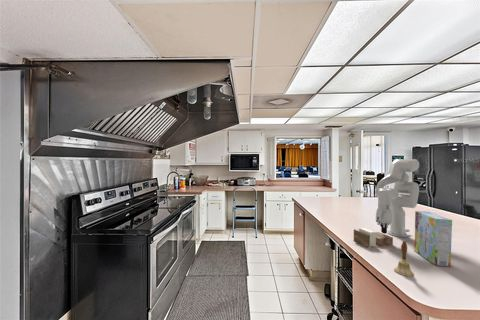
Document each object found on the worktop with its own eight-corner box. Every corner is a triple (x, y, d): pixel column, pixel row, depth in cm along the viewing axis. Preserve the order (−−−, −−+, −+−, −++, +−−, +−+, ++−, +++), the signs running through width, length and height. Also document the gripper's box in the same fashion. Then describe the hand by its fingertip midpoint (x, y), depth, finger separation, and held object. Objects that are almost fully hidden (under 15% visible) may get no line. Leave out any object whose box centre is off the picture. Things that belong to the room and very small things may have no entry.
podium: (377, 238, 170) (377, 227, 170) (393, 245, 158) (393, 233, 158) (353, 240, 165) (353, 229, 165) (367, 247, 152) (368, 235, 152)
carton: (364, 227, 165) (359, 228, 164) (375, 232, 155) (370, 232, 154) (364, 240, 165) (358, 240, 164) (375, 245, 155) (370, 246, 154)
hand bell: (418, 276, 115) (418, 244, 115) (402, 276, 115) (402, 244, 114) (404, 268, 123) (405, 238, 123) (390, 268, 123) (390, 238, 123)
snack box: (452, 267, 125) (453, 219, 125) (434, 266, 127) (435, 218, 127) (428, 252, 146) (429, 211, 146) (413, 250, 148) (413, 210, 148)
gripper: (388, 205, 169) (388, 230, 169) (371, 206, 165) (371, 232, 166) (397, 207, 162) (397, 233, 162) (379, 208, 158) (379, 235, 158)
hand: (384, 232), depth 164 cm, fingers closed
